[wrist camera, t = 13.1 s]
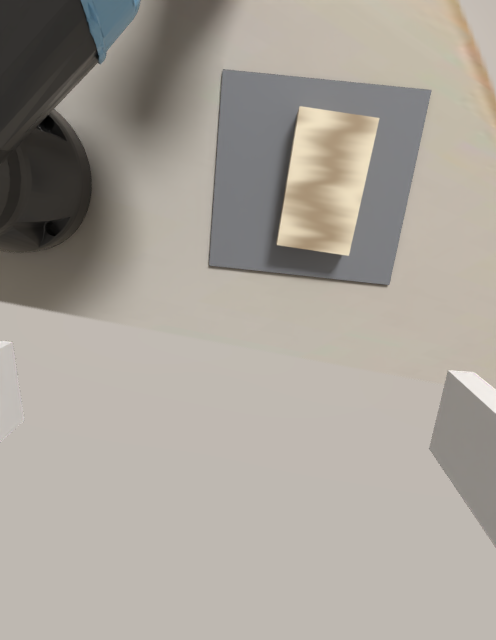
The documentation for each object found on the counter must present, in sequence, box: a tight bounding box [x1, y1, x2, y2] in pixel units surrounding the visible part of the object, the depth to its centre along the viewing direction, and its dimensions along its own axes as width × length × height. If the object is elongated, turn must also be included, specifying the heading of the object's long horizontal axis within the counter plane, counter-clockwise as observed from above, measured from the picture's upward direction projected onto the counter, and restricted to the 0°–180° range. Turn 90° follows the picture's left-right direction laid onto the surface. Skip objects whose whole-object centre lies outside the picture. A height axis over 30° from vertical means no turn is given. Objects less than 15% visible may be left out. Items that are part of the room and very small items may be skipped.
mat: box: [209, 69, 431, 285], centre depth 37 cm, size 19×18×1 cm
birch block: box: [276, 106, 379, 256], centre depth 35 cm, size 7×2×12 cm
